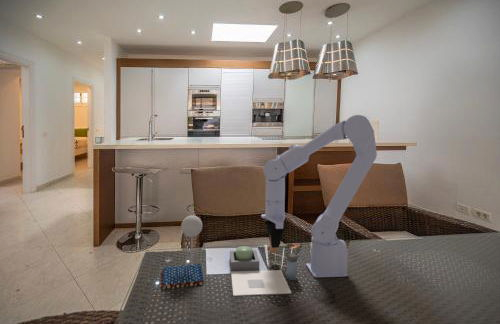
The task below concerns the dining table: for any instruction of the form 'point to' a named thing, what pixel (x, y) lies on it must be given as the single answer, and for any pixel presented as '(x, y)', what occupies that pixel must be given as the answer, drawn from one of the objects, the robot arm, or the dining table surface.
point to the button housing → (244, 262)
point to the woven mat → (182, 276)
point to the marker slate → (291, 266)
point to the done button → (244, 253)
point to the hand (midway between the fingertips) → (274, 245)
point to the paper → (259, 283)
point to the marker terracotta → (273, 249)
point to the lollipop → (191, 229)
